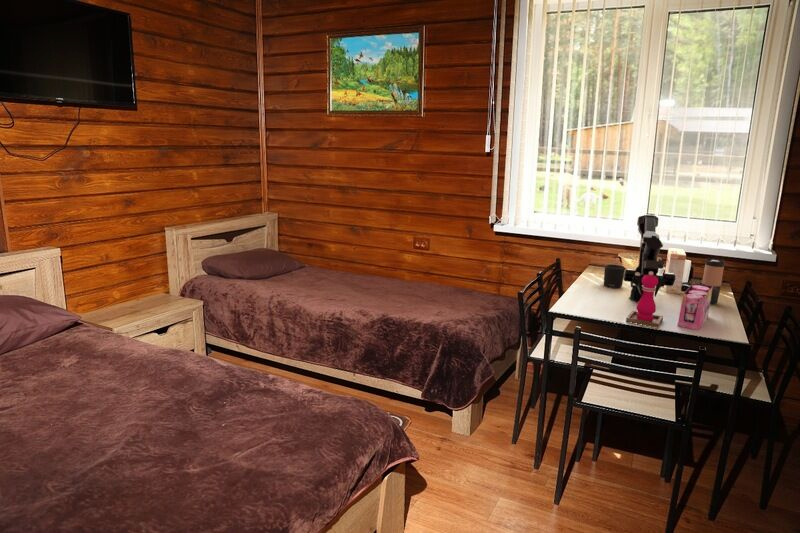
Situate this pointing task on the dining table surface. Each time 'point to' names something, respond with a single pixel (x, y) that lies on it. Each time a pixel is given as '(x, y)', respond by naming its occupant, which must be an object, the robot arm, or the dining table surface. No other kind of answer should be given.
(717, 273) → the travel mug
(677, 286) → the coffeecake box
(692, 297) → the gum box
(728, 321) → the dining table surface
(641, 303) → the pepper mill
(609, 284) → the pen holder
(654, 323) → the walnut tray
